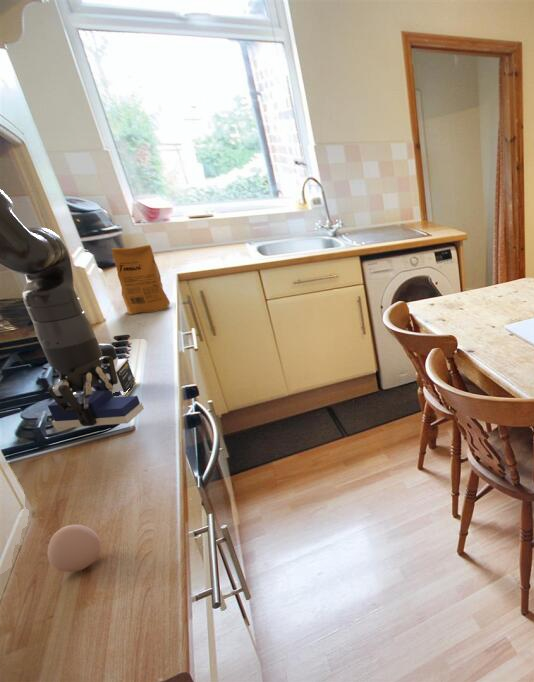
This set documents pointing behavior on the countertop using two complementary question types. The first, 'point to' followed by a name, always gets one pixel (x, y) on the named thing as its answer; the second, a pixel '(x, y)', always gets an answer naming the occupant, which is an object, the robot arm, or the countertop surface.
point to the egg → (73, 548)
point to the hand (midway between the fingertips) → (100, 416)
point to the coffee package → (140, 279)
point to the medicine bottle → (119, 371)
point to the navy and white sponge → (100, 410)
